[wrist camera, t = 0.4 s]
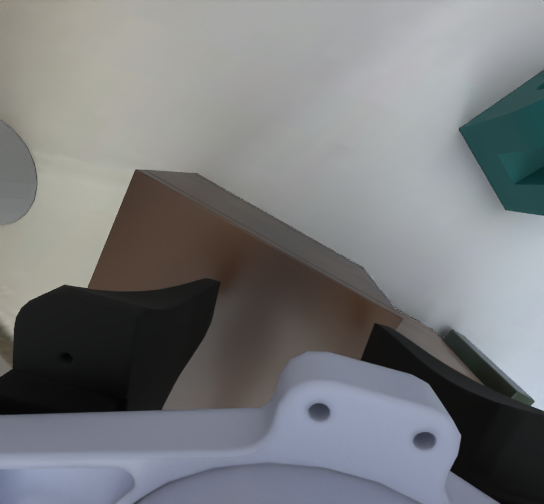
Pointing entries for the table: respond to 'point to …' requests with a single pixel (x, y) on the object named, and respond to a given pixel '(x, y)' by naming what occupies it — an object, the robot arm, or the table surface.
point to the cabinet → (238, 286)
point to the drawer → (462, 357)
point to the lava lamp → (15, 176)
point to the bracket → (513, 146)
